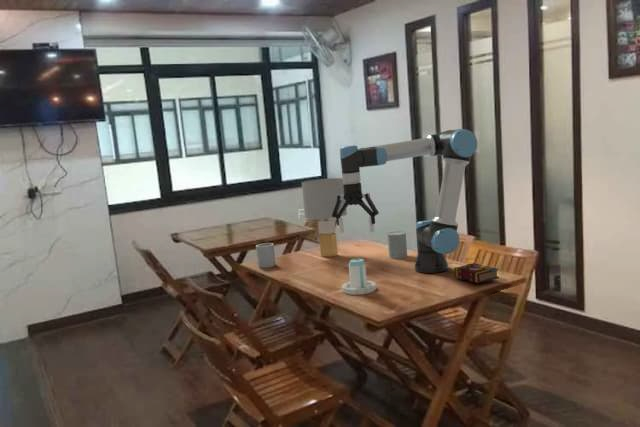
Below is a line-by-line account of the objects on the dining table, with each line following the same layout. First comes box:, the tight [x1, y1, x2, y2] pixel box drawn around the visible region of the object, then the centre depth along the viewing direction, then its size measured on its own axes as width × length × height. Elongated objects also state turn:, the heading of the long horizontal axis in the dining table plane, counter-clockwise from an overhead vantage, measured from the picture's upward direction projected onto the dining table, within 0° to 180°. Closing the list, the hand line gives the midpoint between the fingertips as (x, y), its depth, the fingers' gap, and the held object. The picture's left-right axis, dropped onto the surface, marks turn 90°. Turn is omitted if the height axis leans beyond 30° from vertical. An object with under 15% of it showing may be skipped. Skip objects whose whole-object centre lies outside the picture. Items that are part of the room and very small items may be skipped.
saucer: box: [341, 279, 377, 296], centre depth 233 cm, size 14×14×2 cm
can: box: [348, 258, 368, 289], centre depth 233 cm, size 7×7×12 cm
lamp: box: [301, 177, 348, 258], centre depth 300 cm, size 23×23×42 cm
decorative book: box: [453, 262, 500, 284], centre depth 236 cm, size 11×16×5 cm
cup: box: [255, 242, 276, 269], centre depth 290 cm, size 9×9×12 cm
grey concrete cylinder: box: [387, 231, 408, 260], centre depth 288 cm, size 10×10×12 cm
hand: (356, 232), depth 236 cm, fingers open, 13 cm apart
